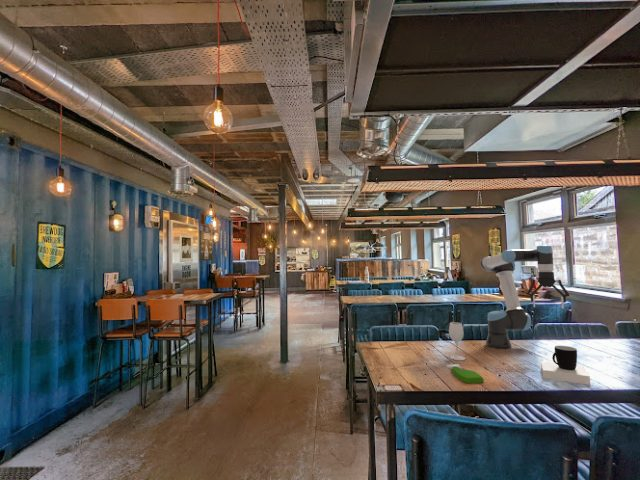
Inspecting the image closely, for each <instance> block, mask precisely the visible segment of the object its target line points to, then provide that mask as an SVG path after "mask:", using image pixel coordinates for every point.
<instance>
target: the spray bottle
mask: <svg viewBox="0 0 640 480" xmlns="http://www.w3.org/2000/svg"><path fill="white" fill-rule="evenodd" d="M446 367H447V368H448V369H451V368H452V369H451V372H452V374H453V376H455V377H456V378H457V379H458V380H459V381H461V380H462V382H463V383H465V384H482V383H481V382H483V383H484V380H485V379H484V378H483V376H482V375H480V374H479V373H477V372H475V371H474V370H471V369H463V367H461V365H460V364H459V363H458V364H455V363H454V364H453V363H452V364H447V365H446Z"/></svg>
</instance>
